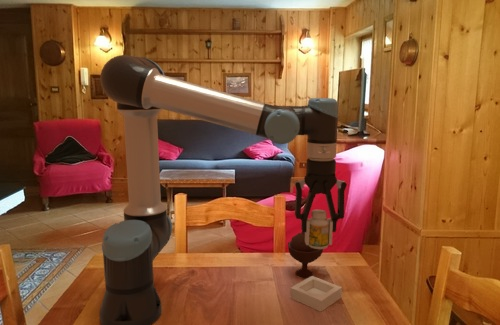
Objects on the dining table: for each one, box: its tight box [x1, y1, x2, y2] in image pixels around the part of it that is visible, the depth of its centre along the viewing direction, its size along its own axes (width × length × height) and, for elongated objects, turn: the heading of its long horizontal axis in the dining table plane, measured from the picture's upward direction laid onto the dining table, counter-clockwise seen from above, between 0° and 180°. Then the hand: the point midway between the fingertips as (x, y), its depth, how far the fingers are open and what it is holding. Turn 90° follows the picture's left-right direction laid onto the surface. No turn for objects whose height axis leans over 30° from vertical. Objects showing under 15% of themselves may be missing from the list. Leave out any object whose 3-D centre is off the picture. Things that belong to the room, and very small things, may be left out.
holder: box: [290, 275, 343, 312], centre depth 115 cm, size 10×10×3 cm
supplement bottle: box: [309, 209, 329, 250], centre depth 111 cm, size 5×5×10 cm
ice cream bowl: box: [287, 231, 324, 279], centre depth 128 cm, size 11×11×15 cm
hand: (318, 242), depth 112 cm, fingers closed on supplement bottle, 5 cm apart
